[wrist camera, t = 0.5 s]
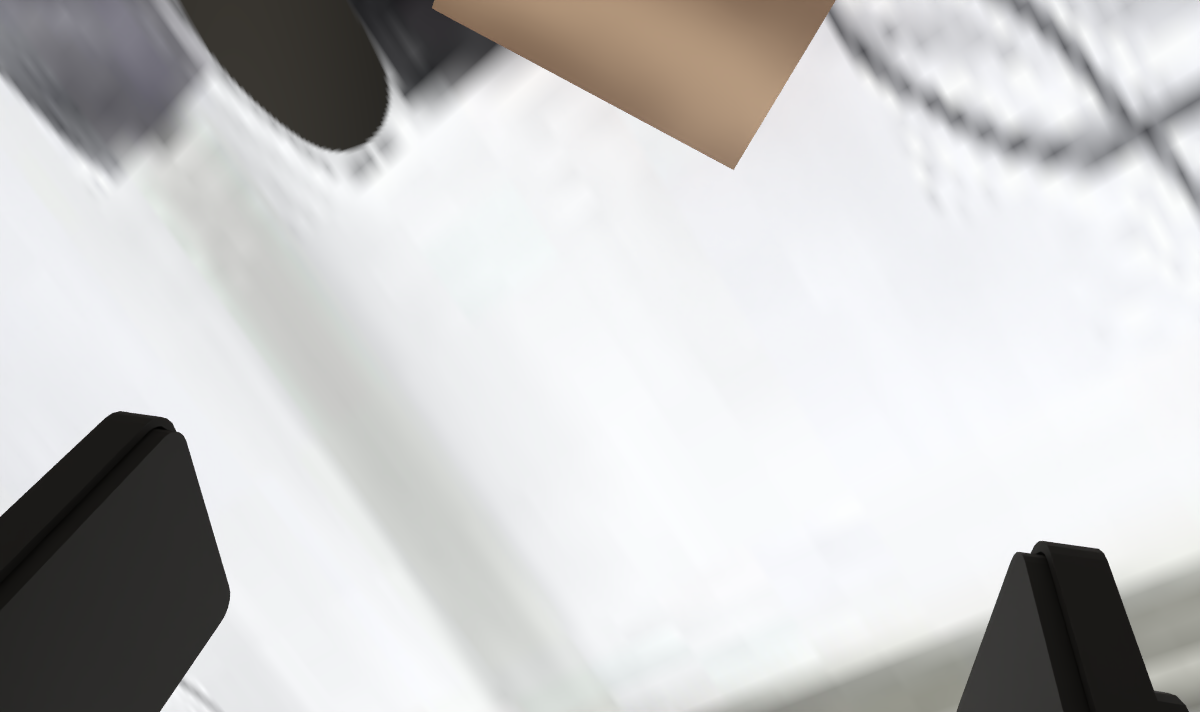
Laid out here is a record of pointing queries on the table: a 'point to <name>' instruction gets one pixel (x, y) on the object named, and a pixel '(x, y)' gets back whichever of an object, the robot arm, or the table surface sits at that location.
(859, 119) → the table surface
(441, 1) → the walnut block
